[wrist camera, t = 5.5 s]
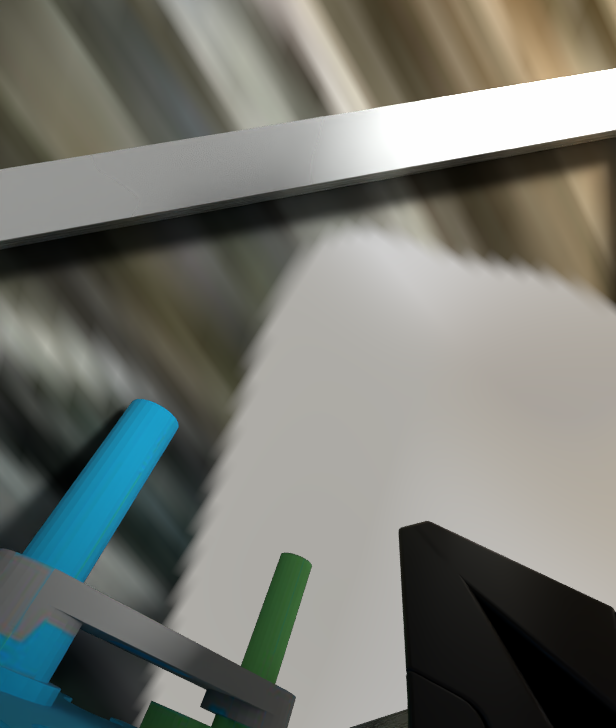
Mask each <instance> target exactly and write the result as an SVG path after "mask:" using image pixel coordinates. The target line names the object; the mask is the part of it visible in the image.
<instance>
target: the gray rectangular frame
mask: <svg viewBox="0 0 616 728" xmlns="http://www.w3.org/2000/svg"><path fill="white" fill-rule="evenodd" d="M614 137H616V69H611V70H605V71H599V72H593V73H587V74H581V75H575V76H569V77H562V78H556V79H550V80H544V81H538V82H532V83H526V84H520V85H514V86H508V87H501V88H495V89H489V90H483V91H477V92H471V93H465V94H459V95H453V96H446V97H440V98H434V99H428V100H422V101H416V102H410V103H404V104H398V105H392V106H385V107H379V108H373V109H367V110H361V111H355V112H349V113H343V114H337V115H330V116H324V117H318V118H312V119H306V120H300V121H294V122H288V123H282V124H276V125H269V126H263V127H257V128H251V129H245V130H239V131H233V132H227V133H221V134H214V135H208V136H202V137H196V138H190V139H184V140H178V141H172V142H166V143H160V144H153V145H147V146H141V147H135V148H129V149H123V150H117V151H111V152H105V153H98V154H92V155H86V156H80V157H74V158H68V159H62V160H56V161H50V162H44V163H37V164H31V165H25V166H19V167H13V168H7V169H1V170H0V250H1V249H6V248H12V247H17V246H23V245H28V244H34V243H39V242H45V241H50V240H56V239H61V238H67V237H72V236H77V235H83V234H88V233H94V232H99V231H105V230H110V229H116V228H121V227H127V226H132V225H138V224H143V223H149V222H154V221H160V220H165V219H170V218H176V217H181V216H187V215H192V214H198V213H203V212H209V211H214V210H220V209H225V208H231V207H236V206H242V205H247V204H253V203H258V202H264V201H269V200H274V199H280V198H285V197H291V196H296V195H302V194H307V193H313V192H318V191H324V190H329V189H335V188H340V187H346V186H351V185H357V184H362V183H367V182H373V181H378V180H384V179H389V178H395V177H400V176H406V175H411V174H417V173H422V172H428V171H433V170H439V169H444V168H450V167H455V166H460V165H466V164H471V163H477V162H482V161H488V160H493V159H499V158H504V157H510V156H515V155H521V154H526V153H532V152H537V151H543V150H548V149H553V148H559V147H564V146H570V145H575V144H581V143H586V142H592V141H597V140H603V139H608V138H614ZM350 728H408V709H406V710H403V711H400V712H397V713H394V714H391V715H388V716H385V717H381V718H378V719H375V720H372V721H369V722H366V723H363V724H360V725H357V726H354V727H350Z"/></svg>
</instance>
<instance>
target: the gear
mask: <svg viewBox="0 0 616 728" xmlns="http://www.w3.org/2000/svg"><path fill="white" fill-rule="evenodd" d="M178 427H179V426H178V422H177V420H176V418H175V417H174V416H173V415H172V414H171V413H170V412H169V411H168V410H166V409H165V408H163V407H162V406H160V405H158V404H156V403H154V402H151V401H149V400H144V399H136V400H133V401H132V402H131V404H130V405H129V407H128V408H127V409H126V411H125V412H124V413H123V415H122V416H121V418H120V419H119V420H118V422H117V423H116V425H115V426H114V427H113V429H112V430H111V431H110V433H109V434H108V436H107V437H106V438H105V440H104V441H103V443H102V444H101V445H100V447H99V448H98V449H97V451H96V452H95V454H94V455H93V456H92V458H91V459H90V461H89V462H88V463H87V465H86V466H85V467H84V469H83V470H82V472H81V473H80V474H79V476H78V477H77V479H76V480H75V481H74V483H73V484H72V485H71V487H70V488H69V490H68V491H67V492H66V494H65V495H64V496H63V498H62V499H61V501H60V502H59V503H58V505H57V506H56V508H55V509H54V510H53V512H52V513H51V514H50V516H49V517H48V519H47V520H46V521H45V523H44V524H43V526H42V527H41V528H40V530H39V531H38V532H37V534H36V535H35V537H34V538H33V539H32V541H31V542H30V544H29V545H28V546H27V548H26V549H25V550H24V552H23V553H22V554H21V553H18V552H15V551H12V550H8V549H2V548H1V549H0V728H137V727H135V726H132V725H130V724H128V723H126V722H123V721H121V720H118V719H115V718H112V717H111V718H110V720H106V719H104V718H101V717H99V716H97V715H94V714H92V713H90V712H88V711H86V710H84V709H81V708H79V707H78V706H76V705H74V704H72V703H71V701H72V698H71V697H69V696H67V695H65V694H63V693H61V692H60V690H61V688H59V687H58V686H56V685H54V684H52V683H50V682H49V681H50V679H51V677H52V676H53V674H54V672H55V670H56V669H57V667H58V665H59V663H60V662H61V660H62V658H63V657H64V655H65V653H66V651H67V650H68V648H69V646H70V645H71V643H72V641H73V639H74V638H75V636H76V634H77V633H78V631H79V629H81V630H83V631H85V632H88V633H90V634H92V635H94V636H96V637H98V638H100V639H102V640H104V641H106V642H108V643H110V644H113V645H115V646H117V647H119V648H121V649H123V650H125V651H127V652H129V653H131V654H133V655H135V656H137V657H140V658H142V659H144V660H146V661H148V662H150V663H152V664H154V665H156V666H158V667H160V668H162V669H164V670H167V671H169V672H171V673H173V674H175V675H177V676H179V677H181V678H183V679H185V680H187V681H190V682H192V683H194V684H196V685H198V686H200V687H202V688H204V689H206V693H205V696H204V698H203V701H202V703H201V706H200V707H202V708H204V709H206V710H208V711H210V712H212V713H214V714H216V715H215V718H214V721H213V723H212V726H211V727H210V726H208V725H206V724H203V723H201V722H199V721H197V720H194V719H192V718H190V717H187V716H185V715H183V714H181V713H178V712H176V711H174V710H172V709H169V708H167V707H165V706H162V705H160V704H158V703H156V702H153V701H151V703H150V705H149V708H148V710H147V712H146V714H145V716H144V719H143V721H142V723H141V725H140V728H287V727H288V723H289V720H290V716H291V713H292V709H293V706H294V702H295V698H296V697H295V696H294V695H293V694H292V693H290V692H288V691H287V690H285V689H283V688H281V687H279V686H277V685H275V683H276V679H277V676H278V673H279V670H280V667H281V663H282V660H283V657H284V654H285V651H286V647H287V644H288V641H289V638H290V635H291V631H292V628H293V625H294V622H295V619H296V615H297V612H298V609H299V606H300V603H301V599H302V596H303V593H304V590H305V586H306V583H307V580H308V577H309V574H310V570H311V567H312V565H311V563H310V562H309V561H308V560H306V559H304V558H303V557H301V556H298V555H295V554H292V553H282V554H281V556H280V559H279V562H278V564H277V567H276V570H275V573H274V576H273V578H272V581H271V584H270V587H269V590H268V592H267V595H266V598H265V601H264V603H263V606H262V609H261V612H260V615H259V617H258V620H257V623H256V626H255V628H254V631H253V634H252V637H251V640H250V642H249V645H248V648H247V651H246V653H245V656H244V659H243V662H242V664H241V666H239V665H237V664H236V663H234V662H232V661H230V660H228V659H226V658H224V657H222V656H220V655H219V654H216V653H215V652H213V651H211V650H209V649H207V648H205V647H203V646H201V645H199V644H198V643H196V642H194V641H192V640H190V639H188V638H186V637H184V636H183V635H181V634H179V633H177V632H175V631H173V630H171V629H169V628H167V627H166V626H164V625H162V624H160V623H158V622H156V621H154V620H152V619H150V618H149V617H147V616H145V615H143V614H141V613H139V612H137V611H135V610H133V609H131V608H130V607H128V606H126V605H124V604H122V603H120V602H118V601H116V600H114V599H113V598H111V597H109V596H107V595H105V594H103V593H101V592H99V591H97V590H96V589H94V588H92V587H90V586H88V585H86V584H84V581H85V580H86V578H87V577H88V575H89V573H90V572H91V570H92V568H93V567H94V565H95V563H96V562H97V560H98V559H99V557H100V555H101V554H102V552H103V550H104V549H105V547H106V545H107V544H108V542H109V541H110V539H111V537H112V536H113V534H114V532H115V531H116V529H117V527H118V526H119V524H120V523H121V521H122V519H123V518H124V516H125V514H126V513H127V511H128V509H129V508H130V506H131V505H132V503H133V501H134V500H135V498H136V496H137V495H138V493H139V492H140V490H141V488H142V487H143V485H144V483H145V482H146V480H147V478H148V477H149V475H150V474H151V472H152V470H153V469H154V467H155V465H156V464H157V462H158V460H159V459H160V457H161V456H162V454H163V452H164V451H165V449H166V447H167V446H168V444H169V442H170V441H171V439H172V438H173V436H174V434H175V433H176V431H177V429H178Z"/></svg>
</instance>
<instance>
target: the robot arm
mask: <svg viewBox="0 0 616 728" xmlns="http://www.w3.org/2000/svg"><path fill="white" fill-rule="evenodd" d="M399 549H400V566H401V585H402V603H403V621H404V639H405V656H406V672H407V675H406V679H407V699H408V728H616V612H615V611H614V609H613V608H612V607H611V606H609V605H606V604H604V603H602V602H600V601H598V600H596V599H593V598H591V597H589V596H587V595H585V594H583V593H581V592H579V591H576V590H575V589H572V588H570V587H568V586H566V585H564V584H562V583H559V582H557V581H555V580H553V579H551V578H549V577H547V576H545V575H543V574H541V573H538V572H536V571H534V570H532V569H530V568H528V567H526V566H523V565H521V564H519V563H517V562H515V561H513V560H511V559H509V558H506V557H504V556H502V555H500V554H498V553H496V552H494V551H492V550H489V549H487V548H485V547H483V546H481V545H479V544H476V543H475V542H473V541H470V540H468V539H466V538H464V537H462V536H460V535H458V534H456V533H453V532H451V531H449V530H447V529H445V528H443V527H440V526H439V525H436V524H434V523H432V522H429V521H425V522H421V523H417V524H413V525H409V526H405V527H402V528H400V529H399Z"/></svg>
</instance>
